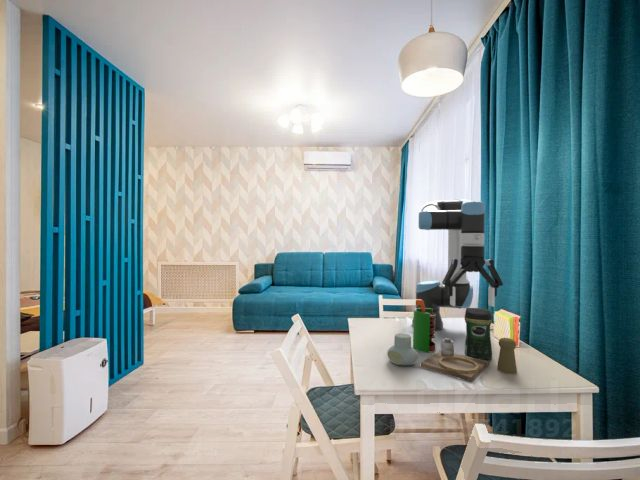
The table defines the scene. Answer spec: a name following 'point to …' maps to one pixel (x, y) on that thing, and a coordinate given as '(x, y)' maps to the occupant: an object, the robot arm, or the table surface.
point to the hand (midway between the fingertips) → (471, 305)
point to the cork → (507, 356)
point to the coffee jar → (478, 333)
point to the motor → (423, 328)
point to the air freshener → (402, 350)
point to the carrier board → (454, 363)
